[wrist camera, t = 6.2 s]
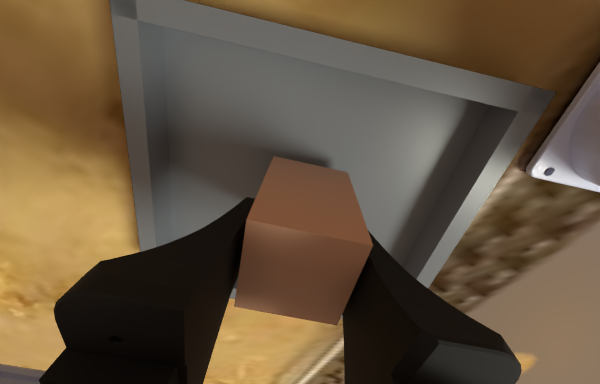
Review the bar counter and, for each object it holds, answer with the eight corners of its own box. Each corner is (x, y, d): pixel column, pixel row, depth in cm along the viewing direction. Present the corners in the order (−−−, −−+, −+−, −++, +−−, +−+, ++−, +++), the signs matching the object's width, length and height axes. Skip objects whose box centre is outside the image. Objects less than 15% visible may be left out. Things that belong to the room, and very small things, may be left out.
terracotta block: (347, 172, 13) (373, 245, 8) (327, 232, 15) (337, 325, 9) (273, 155, 13) (246, 219, 7) (262, 218, 15) (233, 306, 9)
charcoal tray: (512, 87, 12) (556, 92, 10) (391, 299, 20) (401, 329, 17) (147, -3, 11) (107, -19, 9) (164, 256, 19) (144, 282, 16)
